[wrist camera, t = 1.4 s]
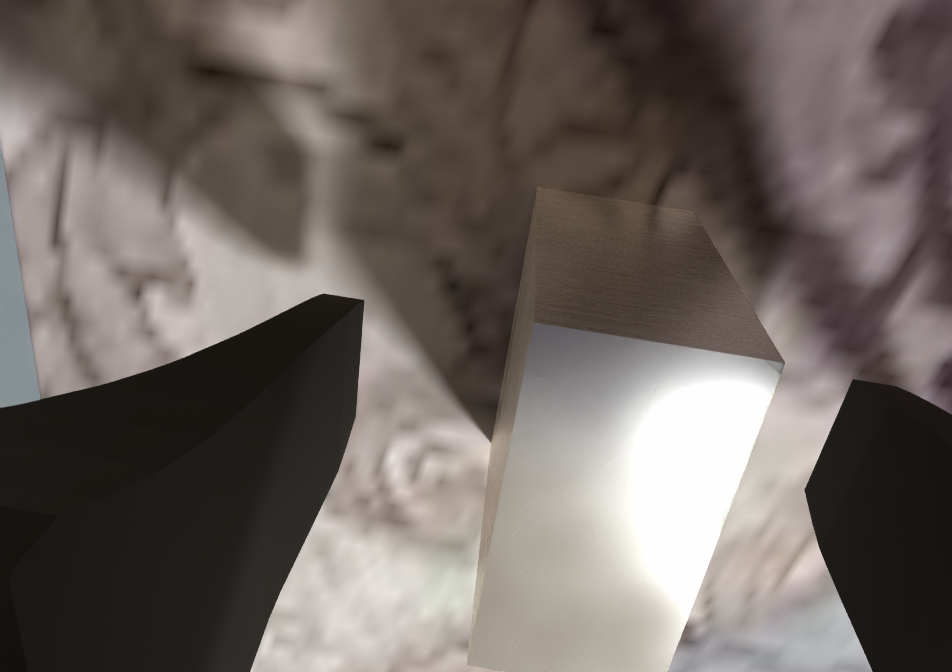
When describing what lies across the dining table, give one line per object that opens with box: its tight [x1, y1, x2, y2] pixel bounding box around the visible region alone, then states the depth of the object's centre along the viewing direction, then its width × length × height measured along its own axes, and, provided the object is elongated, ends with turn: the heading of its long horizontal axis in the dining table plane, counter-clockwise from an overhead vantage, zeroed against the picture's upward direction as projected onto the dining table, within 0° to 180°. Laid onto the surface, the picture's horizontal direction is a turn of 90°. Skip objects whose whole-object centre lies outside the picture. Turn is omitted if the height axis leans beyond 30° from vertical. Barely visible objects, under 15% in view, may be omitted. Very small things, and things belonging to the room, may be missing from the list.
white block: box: [467, 187, 785, 672], centre depth 11 cm, size 5×2×5 cm, turn 172°
